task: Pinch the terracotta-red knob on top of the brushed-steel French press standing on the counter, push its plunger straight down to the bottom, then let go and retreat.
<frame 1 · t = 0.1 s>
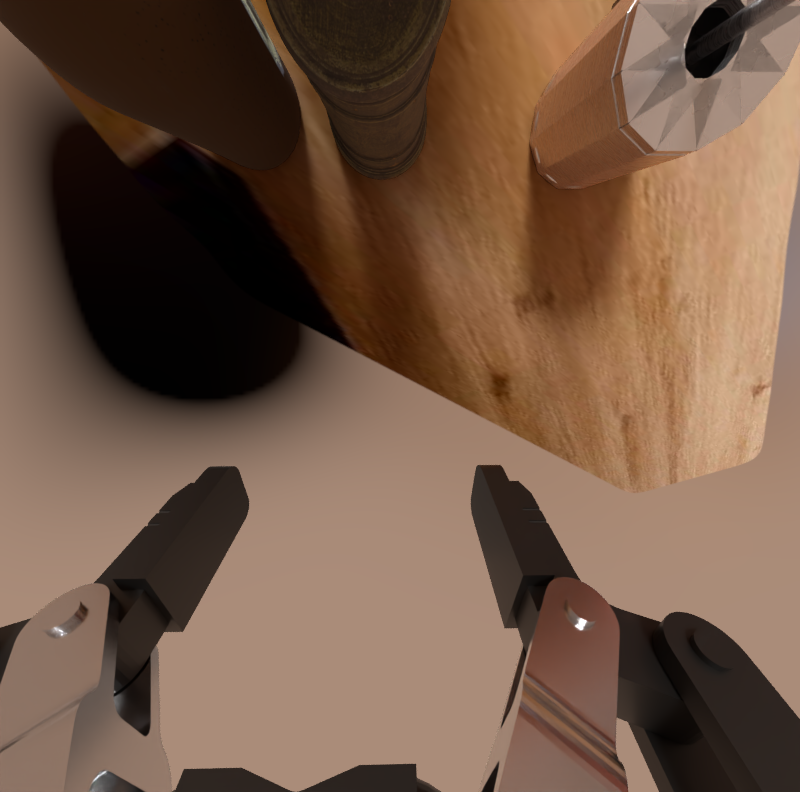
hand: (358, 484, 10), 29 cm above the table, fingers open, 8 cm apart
press carafe: (583, 125, 28), on the table
olive oil: (252, 109, 27), on the table
container: (379, 124, 28), on the table
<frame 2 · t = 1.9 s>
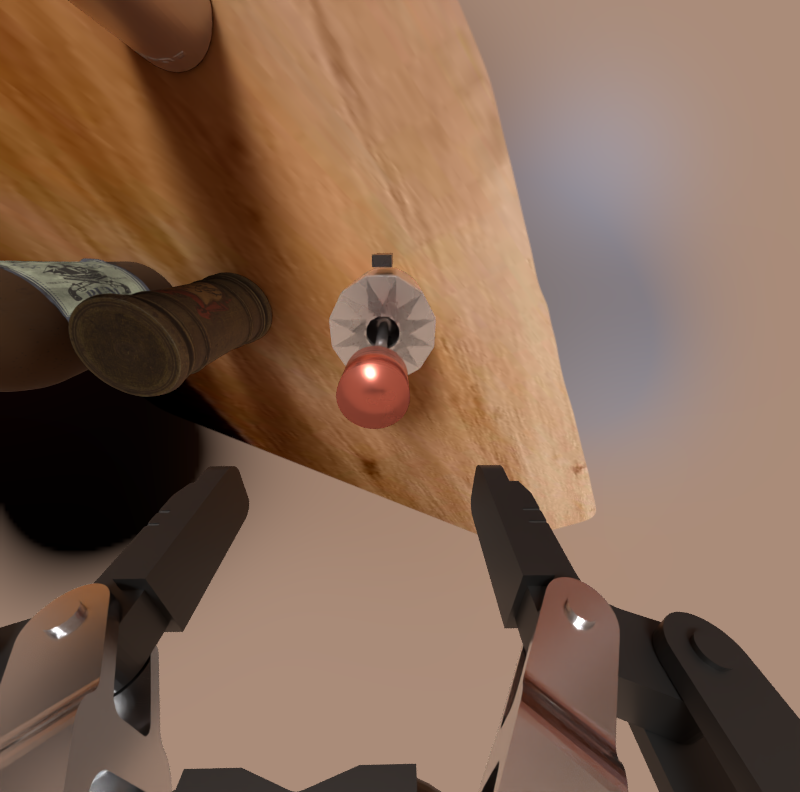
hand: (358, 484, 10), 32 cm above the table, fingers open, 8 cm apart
press carafe: (386, 308, 38), on the table
olive oil: (146, 300, 38), on the table
container: (239, 307, 38), on the table
plunger: (380, 348, 23), point 18 cm above the table, slide at 0.0 cm
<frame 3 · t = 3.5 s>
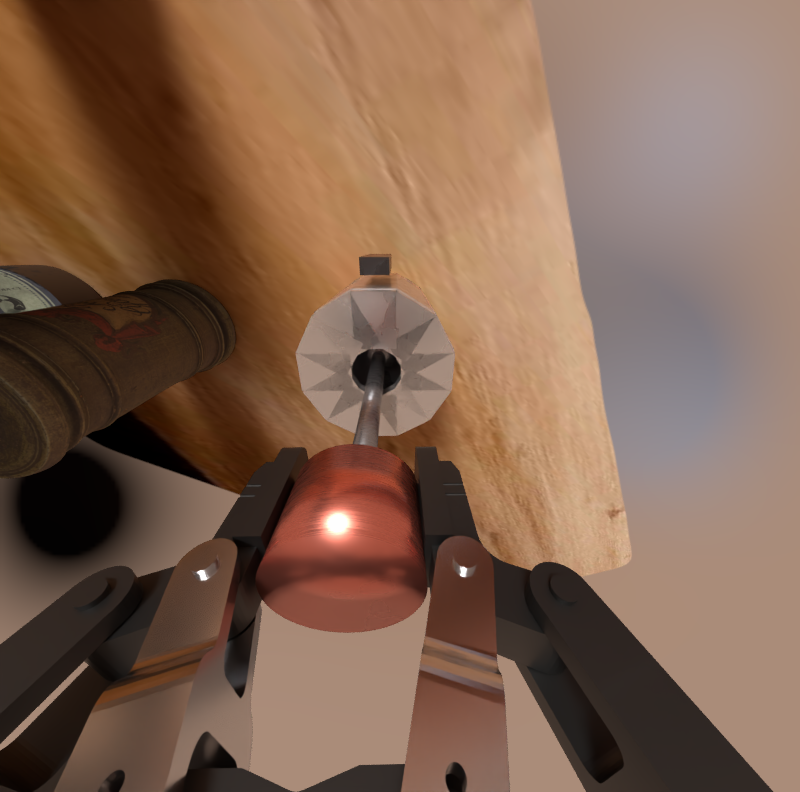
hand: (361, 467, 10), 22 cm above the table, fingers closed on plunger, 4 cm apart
press carafe: (383, 325, 30), on the table
olive oil: (71, 314, 29), on the table
container: (192, 324, 30), on the table
plunger: (370, 408, 14), point 17 cm above the table, slide at 0.0 cm, touching gripper
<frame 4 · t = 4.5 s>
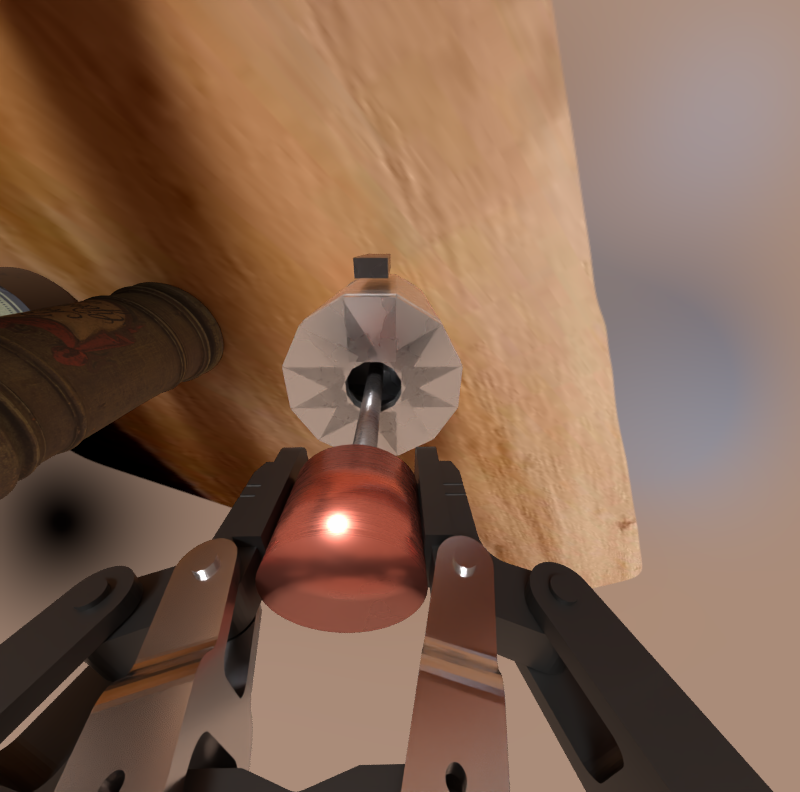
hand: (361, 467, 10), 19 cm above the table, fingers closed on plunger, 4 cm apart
press carafe: (382, 330, 28), on the table
olive oil: (45, 320, 27), on the table
container: (177, 330, 28), on the table
plunger: (370, 408, 14), point 15 cm above the table, slide at 2.4 cm, touching gripper
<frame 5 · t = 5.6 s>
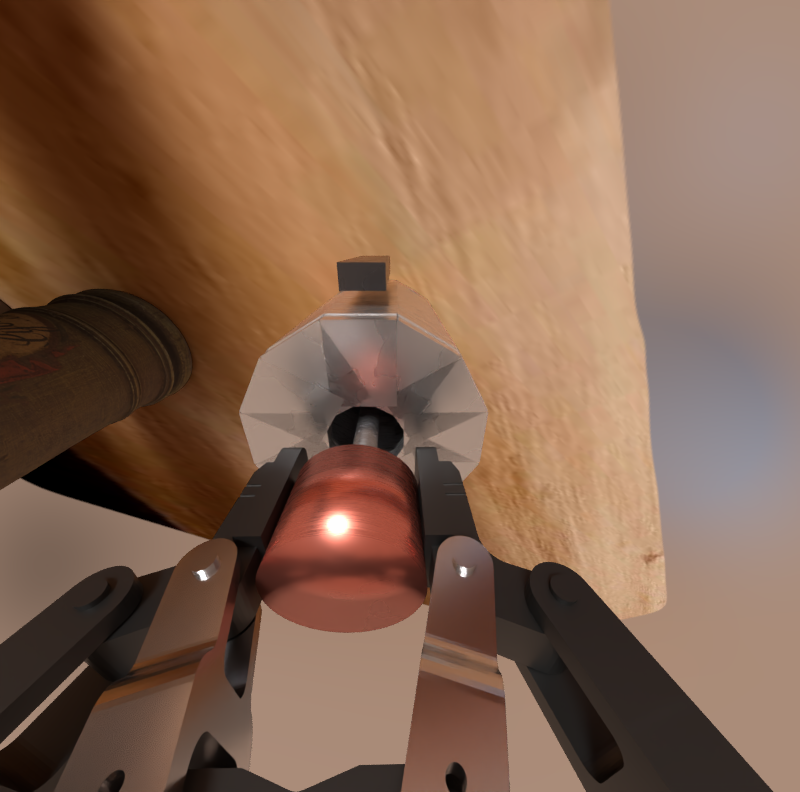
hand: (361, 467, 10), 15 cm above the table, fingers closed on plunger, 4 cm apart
press carafe: (380, 345, 23), on the table
container: (136, 345, 23), on the table
plunger: (370, 408, 14), point 10 cm above the table, slide at 7.2 cm, touching gripper
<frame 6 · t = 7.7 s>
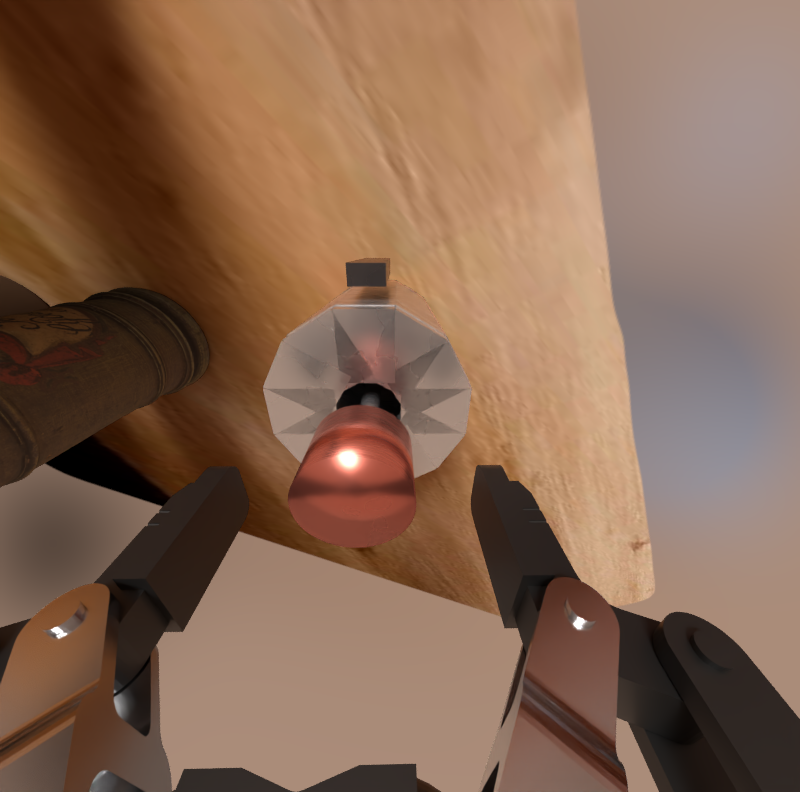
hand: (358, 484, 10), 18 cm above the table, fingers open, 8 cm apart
press carafe: (381, 340, 26), on the table
olive oil: (17, 327, 25), on the table
container: (159, 339, 25), on the table
plunger: (372, 389, 16), point 10 cm above the table, slide at 7.3 cm
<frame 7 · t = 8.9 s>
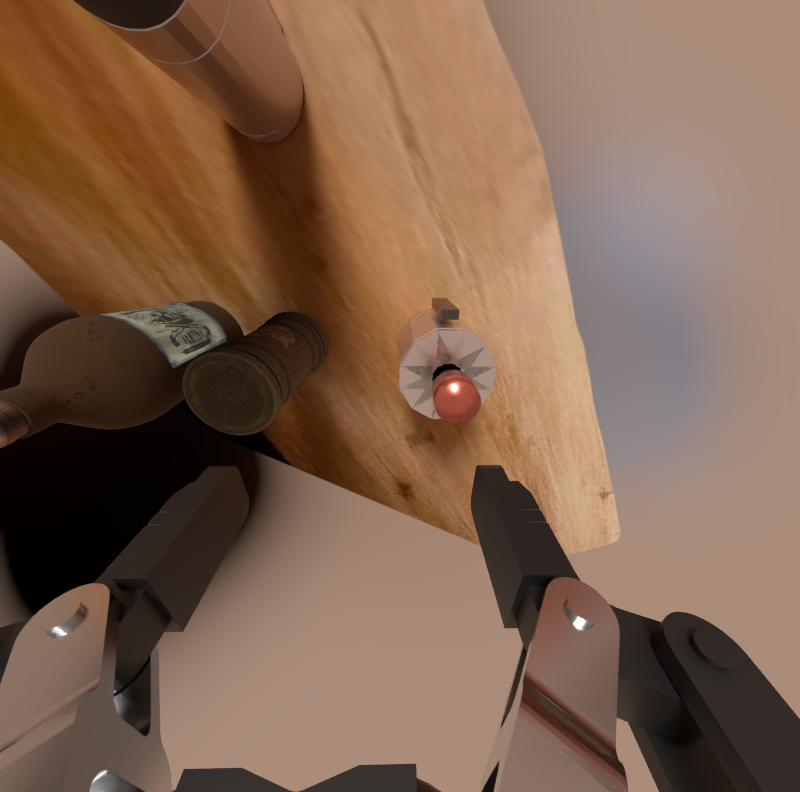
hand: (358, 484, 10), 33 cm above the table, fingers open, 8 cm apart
press carafe: (433, 344, 41), on the table
olive oil: (212, 334, 41), on the table
container: (297, 342, 41), on the table
plunger: (443, 369, 32), point 10 cm above the table, slide at 7.3 cm
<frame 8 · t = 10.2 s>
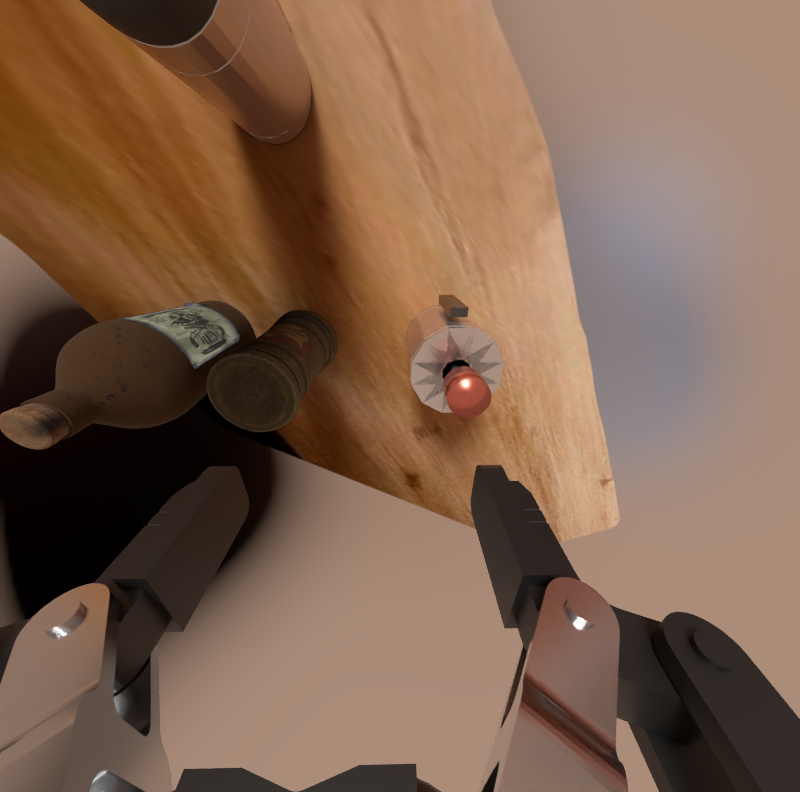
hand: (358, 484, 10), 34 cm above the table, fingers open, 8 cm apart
press carafe: (440, 339, 42), on the table
olive oil: (223, 333, 42), on the table
container: (306, 339, 42), on the table
plunger: (452, 364, 33), point 10 cm above the table, slide at 7.3 cm
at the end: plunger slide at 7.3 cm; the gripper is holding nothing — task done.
